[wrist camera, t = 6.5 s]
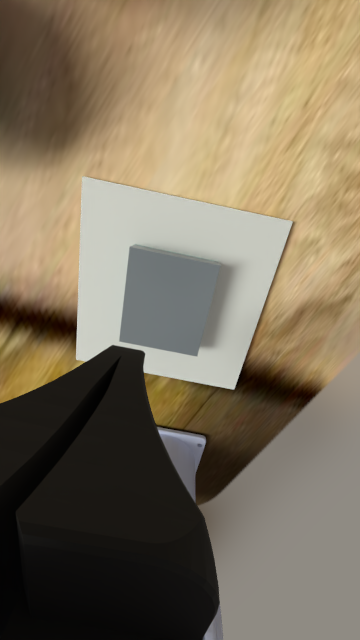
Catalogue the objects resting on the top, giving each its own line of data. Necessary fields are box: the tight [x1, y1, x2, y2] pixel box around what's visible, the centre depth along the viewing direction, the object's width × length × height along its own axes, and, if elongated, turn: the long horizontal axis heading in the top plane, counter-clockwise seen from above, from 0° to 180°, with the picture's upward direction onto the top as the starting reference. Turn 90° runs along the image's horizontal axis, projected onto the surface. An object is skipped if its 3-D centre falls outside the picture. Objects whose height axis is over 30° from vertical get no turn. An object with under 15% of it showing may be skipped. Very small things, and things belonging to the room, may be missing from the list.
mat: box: [76, 176, 293, 390], centre depth 19 cm, size 14×14×1 cm
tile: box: [119, 244, 221, 357], centre depth 18 cm, size 2×7×6 cm
